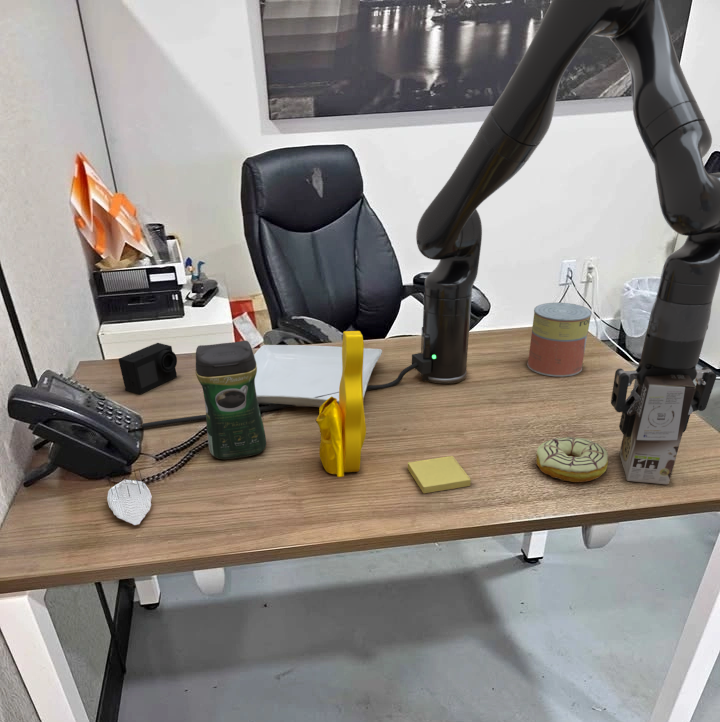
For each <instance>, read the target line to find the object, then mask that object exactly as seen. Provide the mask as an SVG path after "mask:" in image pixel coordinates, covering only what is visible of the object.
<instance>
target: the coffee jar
mask: <svg viewBox="0 0 720 722" xmlns="http://www.w3.org/2000/svg"><path fill="white" fill-rule="evenodd" d="M254 354H255V353H254V350H253V348H252V346H251V343H250V342H249V341H248V340H241V341H233V342H222V343H221V342H220V343H215V344H203V345H201V344H200V345H198V346H197V347H196V349H195V376H196V378H197V381H198V383H199V385H201V388H202V392H203V399H204V406H205V415H206V420H205V421H206V434H207V435H206V436H207V444H208V451H209V453H210V455H211V456H212V457H214V458H216V459H219V460H232V459H239V458H246V457H251V456H256V455H259V454H262V452H263V451H264V450H265V449H266V447H267V439H266V438H267V436H266V431H265V426H264V423H263V419H262V414H261V412H260V410H259V407H260V406H259V405H260V404H258V401H257V396H256V389H255V376H256V373H257V364H256V361H255V357H254Z"/></svg>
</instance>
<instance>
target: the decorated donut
mask: <svg viewBox="0 0 720 722" xmlns="http://www.w3.org/2000/svg"><path fill="white" fill-rule="evenodd" d="M608 457H609V453H608V451H607V449H606V447H604V446H603V445H601V444H600V443H598V442H596V441H593V440H590V439H588V438H584V437H573V436H563V437H555V438H551V439H548V440H546V441H544V442H543V443H541V444H540V445H539V446H538V447H537V450H536V458H535V460H536V465H537V466H538V468H539V470H540V471H541V472H542V473H543V474H546V475H548V476H550V477H551V478H554V479H560V480H561V481H567V482H572V483H586V482H590V481H593V480H596V479H597V478H600V477H601V476H602V475H604V474H605V472H606V471H607V469H608V465H609V458H608Z"/></svg>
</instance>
